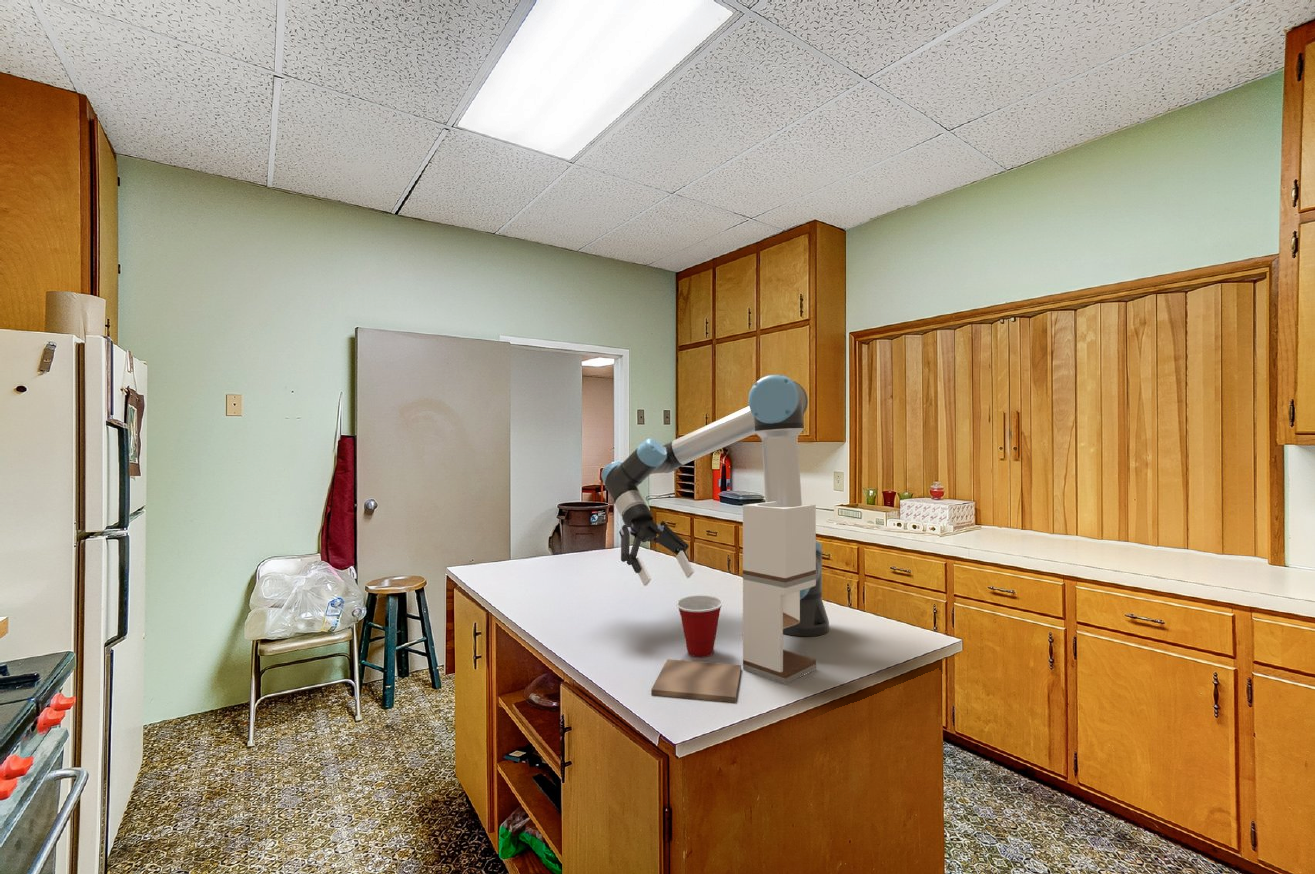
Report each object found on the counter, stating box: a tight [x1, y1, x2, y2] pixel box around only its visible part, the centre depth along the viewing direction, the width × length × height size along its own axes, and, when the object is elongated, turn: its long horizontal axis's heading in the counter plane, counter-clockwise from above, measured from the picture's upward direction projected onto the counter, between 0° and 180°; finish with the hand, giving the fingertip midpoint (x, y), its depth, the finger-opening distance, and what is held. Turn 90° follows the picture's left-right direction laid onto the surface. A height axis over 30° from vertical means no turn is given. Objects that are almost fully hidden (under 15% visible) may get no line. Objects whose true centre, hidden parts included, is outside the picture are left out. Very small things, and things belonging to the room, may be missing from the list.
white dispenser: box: [742, 502, 817, 685], centre depth 123 cm, size 11×11×35 cm
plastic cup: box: [675, 594, 724, 658], centre depth 133 cm, size 11×11×12 cm
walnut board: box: [650, 658, 742, 703], centre depth 117 cm, size 16×16×1 cm
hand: (670, 578), depth 141 cm, fingers open, 13 cm apart
